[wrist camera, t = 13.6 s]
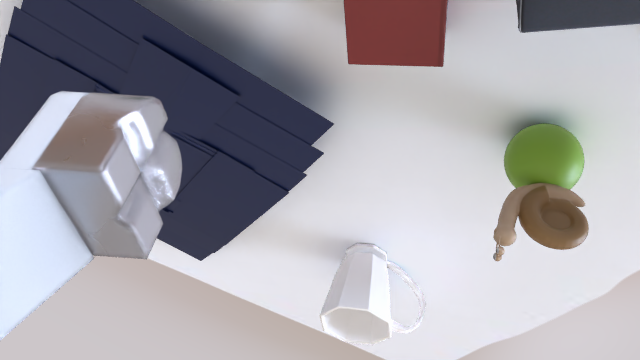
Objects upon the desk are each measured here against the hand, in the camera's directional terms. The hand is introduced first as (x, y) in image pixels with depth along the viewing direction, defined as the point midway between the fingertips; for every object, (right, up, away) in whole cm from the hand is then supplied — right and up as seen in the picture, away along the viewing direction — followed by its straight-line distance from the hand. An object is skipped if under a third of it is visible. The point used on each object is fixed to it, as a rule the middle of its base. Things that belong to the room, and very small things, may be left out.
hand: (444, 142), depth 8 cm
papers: (-16, +4, +44) cm, 47 cm away
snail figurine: (+15, +3, +37) cm, 40 cm away
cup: (+4, -9, +52) cm, 53 cm away
